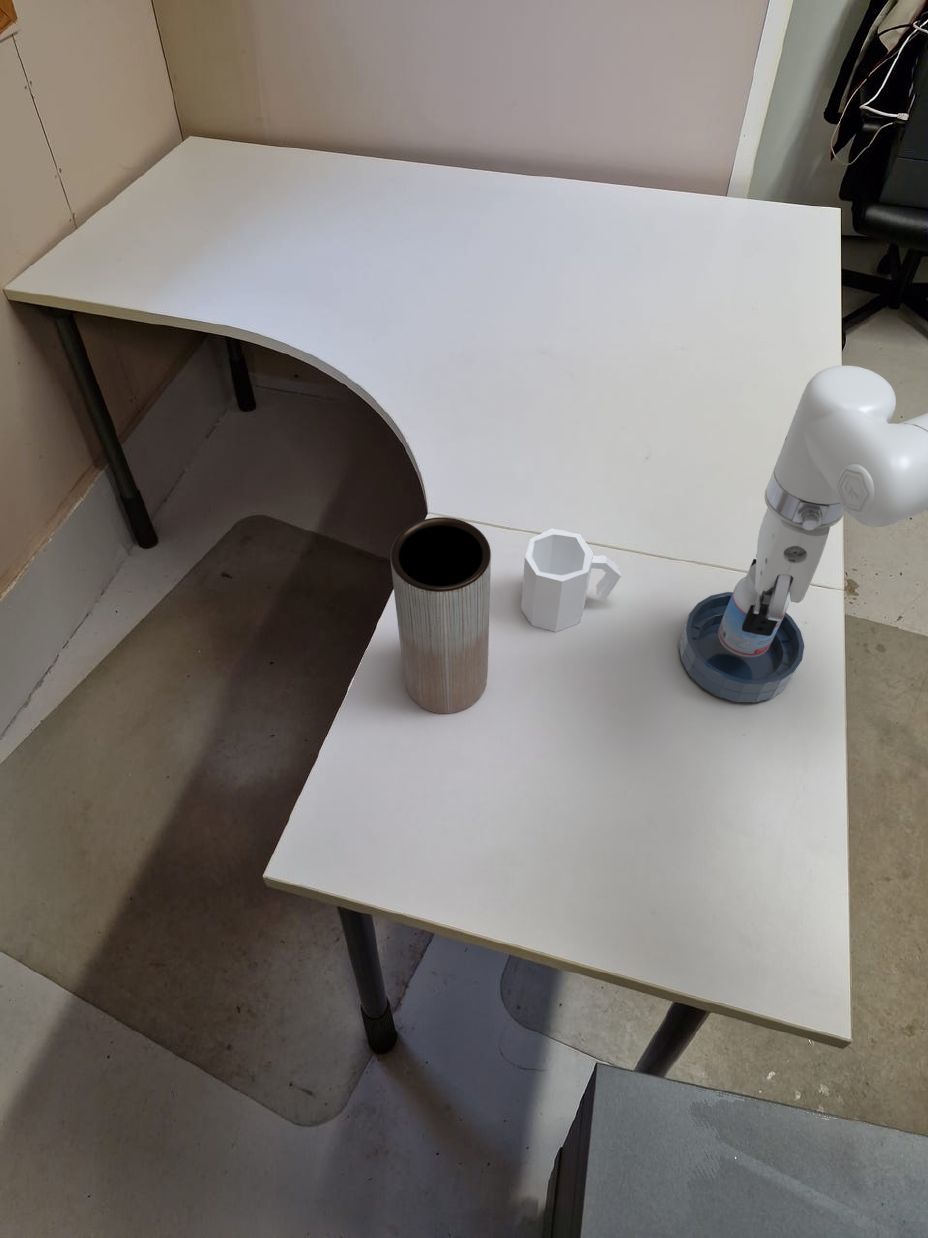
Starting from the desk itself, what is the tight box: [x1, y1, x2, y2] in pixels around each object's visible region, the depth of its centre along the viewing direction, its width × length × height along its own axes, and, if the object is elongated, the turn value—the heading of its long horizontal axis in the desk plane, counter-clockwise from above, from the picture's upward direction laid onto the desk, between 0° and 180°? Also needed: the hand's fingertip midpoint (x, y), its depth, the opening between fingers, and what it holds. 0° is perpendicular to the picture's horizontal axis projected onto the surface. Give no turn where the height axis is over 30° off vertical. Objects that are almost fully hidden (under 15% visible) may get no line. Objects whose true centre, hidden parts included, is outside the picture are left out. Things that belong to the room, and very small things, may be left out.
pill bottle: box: [718, 564, 791, 657], centre depth 93 cm, size 6×6×11 cm
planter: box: [389, 516, 492, 714], centre depth 90 cm, size 10×10×23 cm
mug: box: [520, 527, 622, 633], centre depth 102 cm, size 12×9×10 cm
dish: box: [679, 591, 805, 703], centre depth 99 cm, size 14×14×4 cm
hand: (757, 607), depth 93 cm, fingers closed on pill bottle, 6 cm apart
